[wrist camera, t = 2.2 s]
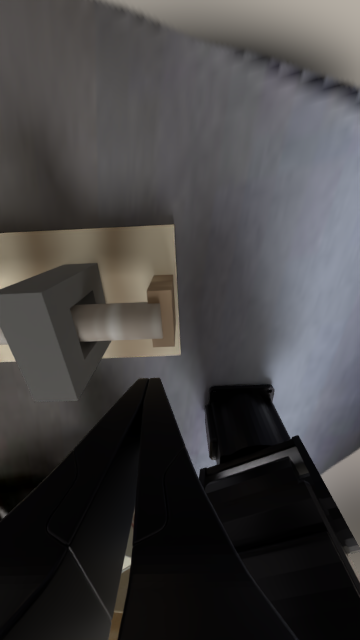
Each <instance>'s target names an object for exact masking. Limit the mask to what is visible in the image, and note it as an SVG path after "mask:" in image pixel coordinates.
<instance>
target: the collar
mask: <svg viewBox="0 0 360 640" xmlns="http://www.w3.org/2000/svg"><path fill="white" fill-rule="evenodd" d="M86 304H106V302H105V297H104V292H103V287H102V282H101V278H100V273H99V268H98V263H85V264H64V265H61V266H59V267H56V268H54V269H51V270H48V271H46V272H43V273H41V274H38V275H36V276H33V277H30V278H28V279H25V280H23V281H20V282H18V283H15V284H13V285H10V286H7V287H5V288H2V289H0V328H1V330H2V332H3V334H4V337H5V339H6V341H7V343H8V345H9V348H10V350H11V352H12V354H13V356H14V358H15V361H16V363H17V365H18V367H19V369H20V372H21V374H22V376H23V378H24V380H25V383H26V385H27V387H28V389H29V391H30V393H31V396H32V398H33V400H34V402H54V401H78V400H79V398H80V396H81V394H82V393H83V391H84V389H85V387H86V385H87V384H88V382H89V380H90V378H91V377H92V375H93V373H94V371H95V369H96V368H97V366H98V364H99V362H100V361H101V359H102V357H103V355H104V353H105V352H106V350H107V348H108V346H109V345H110V343H111V341H86V342H79V339H78V336H77V332H76V329H75V325H74V322H73V318H72V315H71V311H70V308H71V307H72V306H74V305H86Z"/></svg>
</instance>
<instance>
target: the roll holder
mask: <svg viewBox="0 0 360 640" xmlns="http://www.w3.org/2000/svg"><path fill="white" fill-rule="evenodd" d="M85 263H98V268H99V273H100V278H101V282H102V287H103V292H104V297H105V302H106V304H86V305H74V306H72V307H71V308H70V311H71V315H72V318H73V322H74V325H75V329H76V332H77V336H78V339H79V342H86V341H111V343H110V345H109V346H108V348H107V350H106V352H105V353H104V355H103V357H102V358H121V357H148V356H175V355H181V348H180V329H179V310H178V290H177V271H176V252H175V233H174V225H154V226H134V227H114V228H93V229H73V230H53V231H33V232H13V233H0V289H2V288H5V287H7V286H10V285H13V284H15V283H18V282H20V281H23V280H25V279H28V278H30V277H33V276H36V275H38V274H41V273H43V272H46V271H48V270H51V269H54V268H56V267H59V266H61V265H64V264H85ZM13 361H15V358H14V356H13V354H12V352H11V350H10V348H9V345H8V343H7V341H6V339H5V337H4V334H3V332H2V330H1V328H0V362H13Z"/></svg>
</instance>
